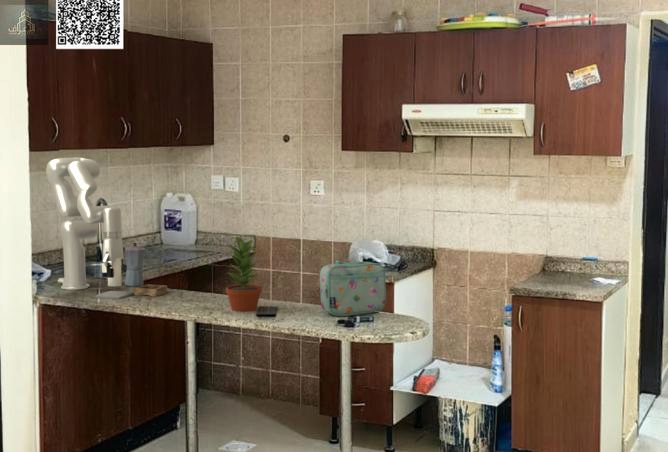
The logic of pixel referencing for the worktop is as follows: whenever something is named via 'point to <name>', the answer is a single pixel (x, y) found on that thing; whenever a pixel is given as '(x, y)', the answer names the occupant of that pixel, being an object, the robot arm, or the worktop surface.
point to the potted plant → (243, 279)
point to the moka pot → (134, 265)
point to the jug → (117, 273)
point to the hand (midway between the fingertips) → (114, 275)
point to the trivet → (114, 294)
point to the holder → (151, 290)
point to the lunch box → (352, 288)
